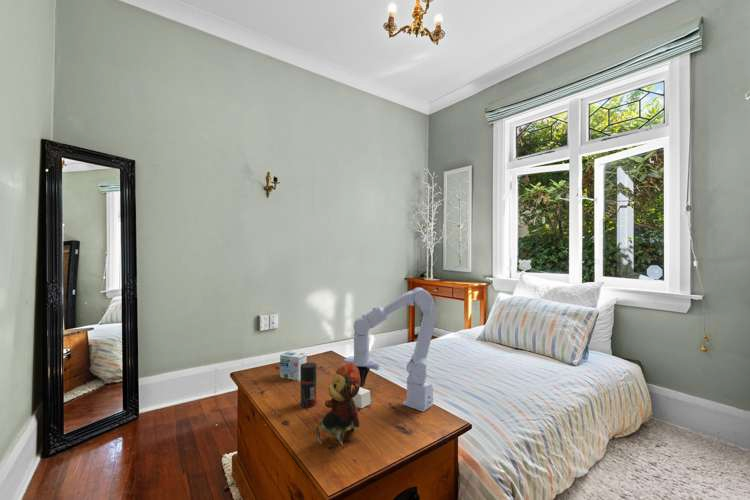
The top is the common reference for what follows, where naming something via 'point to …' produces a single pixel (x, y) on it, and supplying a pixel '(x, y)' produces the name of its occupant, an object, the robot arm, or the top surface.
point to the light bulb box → (292, 365)
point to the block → (362, 398)
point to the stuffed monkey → (342, 402)
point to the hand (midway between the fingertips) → (361, 385)
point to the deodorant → (308, 385)
